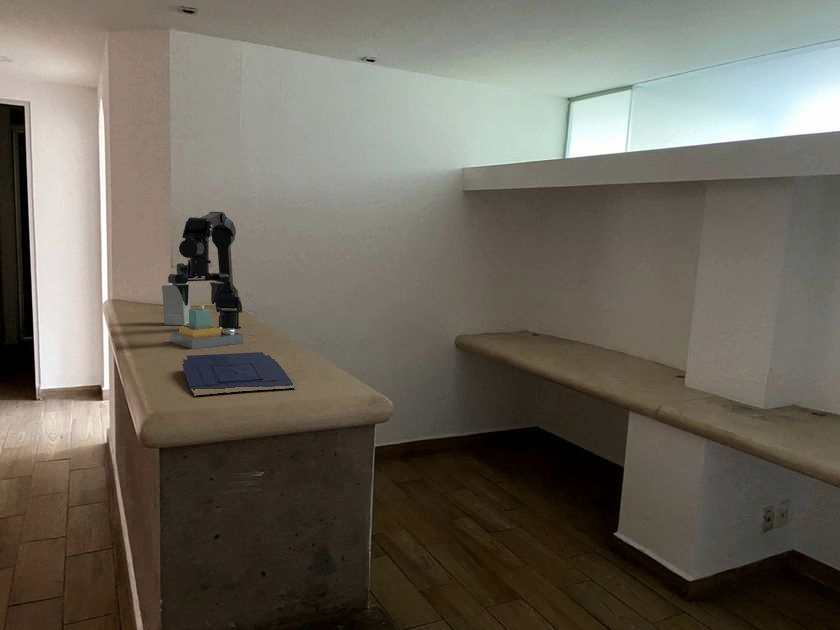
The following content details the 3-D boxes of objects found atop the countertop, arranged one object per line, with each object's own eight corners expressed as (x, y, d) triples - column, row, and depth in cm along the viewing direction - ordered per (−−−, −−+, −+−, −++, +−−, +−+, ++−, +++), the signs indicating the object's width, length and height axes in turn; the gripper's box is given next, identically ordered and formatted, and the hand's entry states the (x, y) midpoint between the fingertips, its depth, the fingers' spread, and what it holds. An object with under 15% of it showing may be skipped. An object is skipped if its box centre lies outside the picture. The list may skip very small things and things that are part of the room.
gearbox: (220, 336, 227) (220, 321, 226) (243, 343, 217) (243, 327, 216) (170, 341, 214) (170, 325, 214) (192, 349, 204) (191, 331, 203)
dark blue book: (268, 360, 186) (269, 348, 185) (296, 399, 160) (297, 385, 159) (178, 365, 175) (178, 352, 175) (192, 407, 149) (192, 392, 149)
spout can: (203, 332, 217) (203, 304, 216) (210, 334, 213) (210, 305, 212) (189, 333, 213) (188, 304, 212) (196, 335, 210) (196, 306, 209)
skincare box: (191, 323, 253) (191, 283, 251) (183, 326, 246) (182, 284, 244) (170, 322, 254) (170, 282, 252) (162, 325, 247) (161, 283, 245)
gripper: (213, 255, 222) (213, 300, 224) (160, 255, 209) (160, 303, 211) (230, 257, 214) (230, 304, 216) (175, 257, 201) (176, 307, 203)
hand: (199, 304), depth 212 cm, fingers open, 9 cm apart
